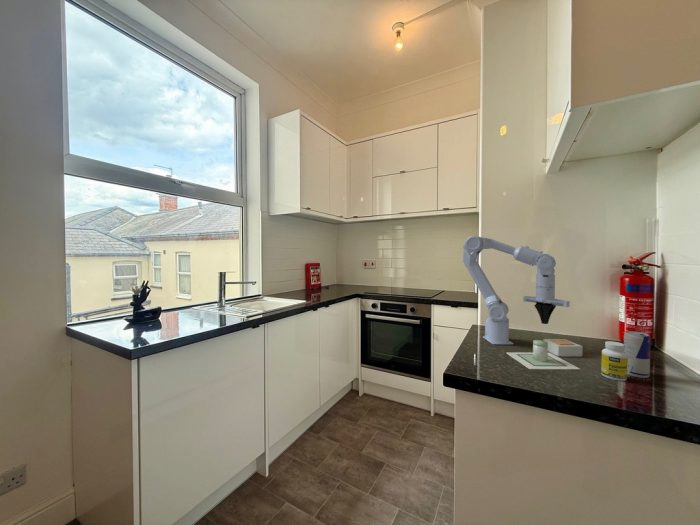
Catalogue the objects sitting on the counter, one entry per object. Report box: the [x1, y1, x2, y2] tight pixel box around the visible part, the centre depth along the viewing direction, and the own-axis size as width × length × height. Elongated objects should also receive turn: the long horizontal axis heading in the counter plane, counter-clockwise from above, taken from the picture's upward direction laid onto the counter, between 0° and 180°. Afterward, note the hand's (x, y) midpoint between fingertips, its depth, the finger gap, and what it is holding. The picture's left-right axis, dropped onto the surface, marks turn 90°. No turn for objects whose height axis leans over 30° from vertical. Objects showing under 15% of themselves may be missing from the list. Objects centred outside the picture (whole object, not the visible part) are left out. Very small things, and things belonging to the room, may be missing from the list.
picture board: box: [505, 352, 581, 371], centre depth 93 cm, size 14×15×1 cm
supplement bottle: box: [600, 340, 628, 382], centre depth 80 cm, size 5×5×10 cm
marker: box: [532, 339, 549, 362], centre depth 92 cm, size 4×4×6 cm
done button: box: [551, 339, 574, 345], centre depth 100 cm, size 5×5×2 cm
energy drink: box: [623, 330, 651, 379], centre depth 81 cm, size 5×5×12 cm
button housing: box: [542, 338, 584, 358], centre depth 100 cm, size 8×8×4 cm
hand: (544, 323), depth 104 cm, fingers closed
